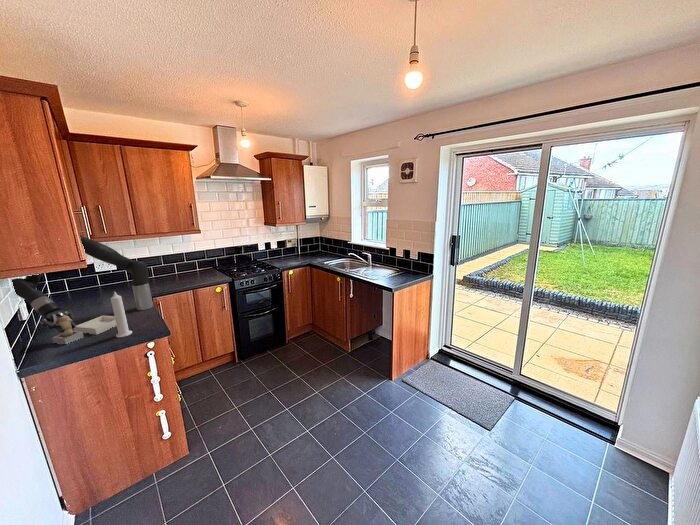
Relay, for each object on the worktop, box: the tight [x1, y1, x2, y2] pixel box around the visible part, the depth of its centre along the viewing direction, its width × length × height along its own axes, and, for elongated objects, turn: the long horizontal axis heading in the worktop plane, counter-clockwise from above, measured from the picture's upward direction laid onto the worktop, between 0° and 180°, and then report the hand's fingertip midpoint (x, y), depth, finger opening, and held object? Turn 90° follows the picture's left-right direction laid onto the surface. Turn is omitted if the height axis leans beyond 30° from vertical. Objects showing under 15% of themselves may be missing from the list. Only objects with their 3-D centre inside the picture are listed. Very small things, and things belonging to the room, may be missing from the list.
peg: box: [57, 315, 74, 337], centre depth 150 cm, size 4×4×12 cm
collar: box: [52, 330, 85, 345], centre depth 151 cm, size 8×8×4 cm
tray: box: [73, 314, 117, 335], centre depth 166 cm, size 16×16×4 cm
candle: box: [110, 291, 133, 339], centre depth 153 cm, size 7×7×25 cm
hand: (69, 329), depth 150 cm, fingers closed on peg, 4 cm apart
